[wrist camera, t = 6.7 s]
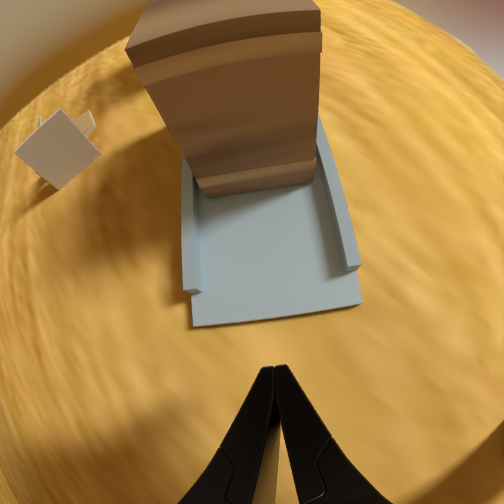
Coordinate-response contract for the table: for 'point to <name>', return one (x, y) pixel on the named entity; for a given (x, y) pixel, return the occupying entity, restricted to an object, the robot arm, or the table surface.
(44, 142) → the architectural model
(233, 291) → the bay
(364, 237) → the table surface
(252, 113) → the brown layered block
